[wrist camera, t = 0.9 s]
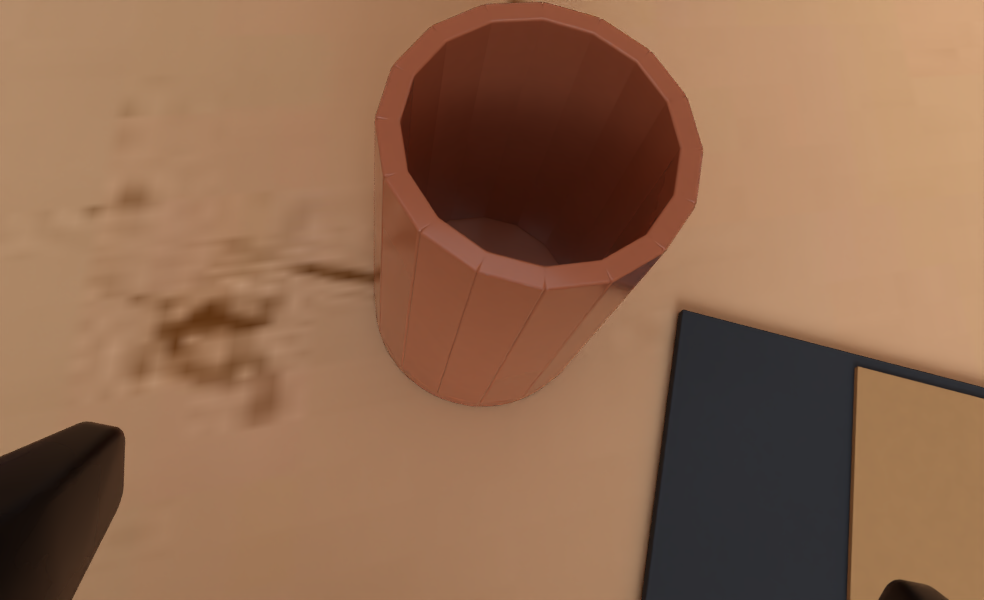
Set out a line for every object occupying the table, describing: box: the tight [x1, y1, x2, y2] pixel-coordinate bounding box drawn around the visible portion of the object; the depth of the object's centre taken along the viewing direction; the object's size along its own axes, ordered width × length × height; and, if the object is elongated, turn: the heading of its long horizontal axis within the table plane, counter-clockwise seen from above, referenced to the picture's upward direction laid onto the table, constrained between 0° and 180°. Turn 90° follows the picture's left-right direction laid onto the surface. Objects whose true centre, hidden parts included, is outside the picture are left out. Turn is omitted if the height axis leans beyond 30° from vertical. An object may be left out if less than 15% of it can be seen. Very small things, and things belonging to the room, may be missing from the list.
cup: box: [374, 2, 703, 406], centre depth 20 cm, size 7×7×10 cm
